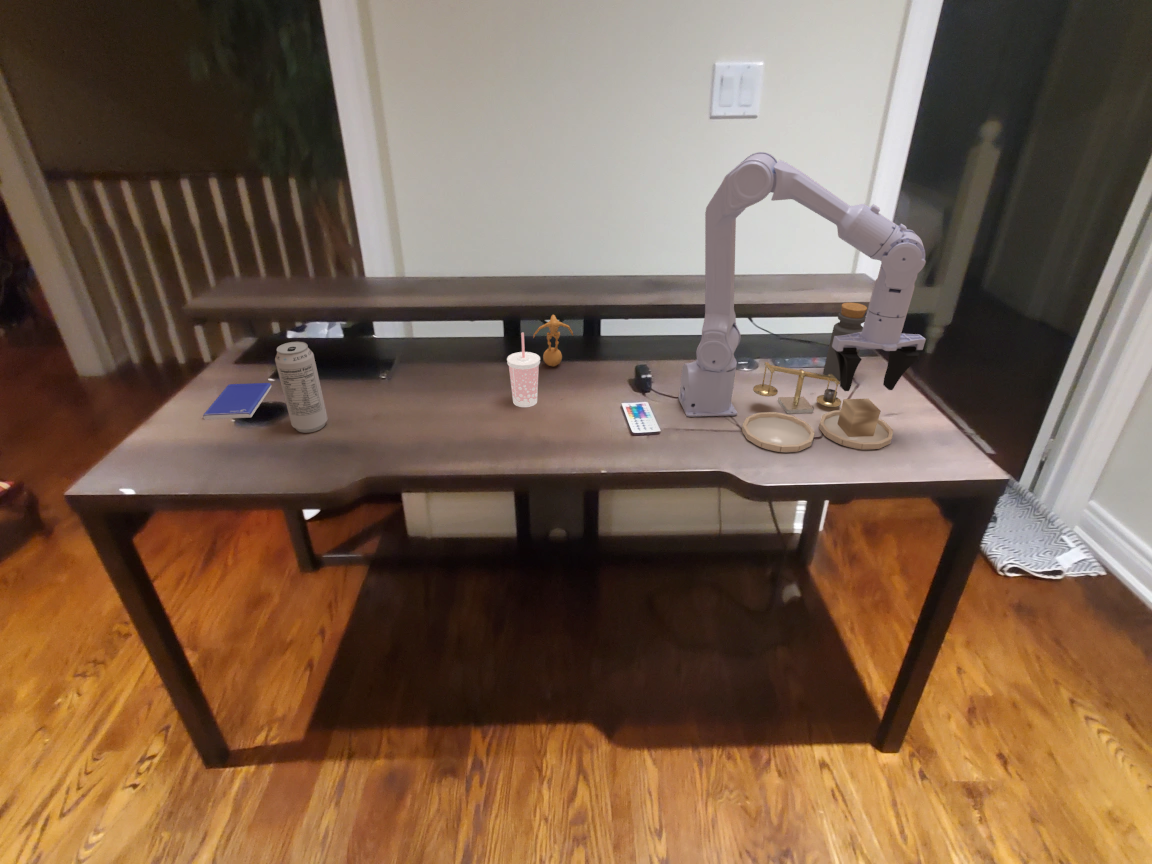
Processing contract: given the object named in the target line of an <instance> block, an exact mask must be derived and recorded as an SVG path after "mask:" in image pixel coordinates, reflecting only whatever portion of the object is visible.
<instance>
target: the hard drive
mask: <svg viewBox="0 0 1152 864" xmlns="http://www.w3.org/2000/svg"><path fill="white" fill-rule="evenodd" d="M271 388H272V384H271V383H270V382H257V383H256V382H255V383H233V384H232V383H231V384H227V385H226V386H225V388H224V389H223V390H222V392H221V393H220V394H219V395H218V397H216V399H215V400H214V401H213V403H212V404H211V405H210V406H208V409H207V410H206V411H205V412H204V413H203V415H202V417H203V420H219V419H220V420H223V419H224V420H225V419H246V418H252V417H253V415H254V414H255V412H256V411H257V409H258V408H259V407H260V405H261V404H262V402H263V400H264V399H265V398H266V396H267V394H268V393H269V392H270V390H271Z"/></svg>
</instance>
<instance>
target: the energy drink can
mask: <svg viewBox="0 0 1152 864" xmlns="http://www.w3.org/2000/svg"><path fill="white" fill-rule="evenodd" d="M315 360H316V359H315V354H314V352H313V351H312V350H311V349H310V348H309V347H308V344H307V343H306V342H305V341H291V342H286V343H283V344H281V345H279V346H277V347H276V355H275V358H274V362H275V365H276V369H277V374H278V378H279V381H280V384H281V390H282V392H283V396H284V400H285V404H286V409H287V412H288V417H289V420H290V424H291V427H292V428H294V429H295V430H296V431H297V432H299V433H305V434H306V433H307V434H308V433H309V434H310V433H313V432H317V431H320V430H321V429H323V428H324V427H325V426H326V423H327V421H328V414H327V410H326V404H325V401H324V395H323V392H322V391H323V390H322V387H321V382H320V377H319V372H318V369H317V364H316V363H317V362H316V361H315Z"/></svg>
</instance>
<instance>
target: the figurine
mask: <svg viewBox="0 0 1152 864" xmlns="http://www.w3.org/2000/svg"><path fill="white" fill-rule="evenodd" d="M549 319H550V320H548V322H546V323H544V324H543V325H540V326H539V327H538V328H537V329H536V330H535V332H534V333H533V336H532V338H533V339H534V338H535V337H536V335H537V334H538V333H539V331H540V330H542V329H545V328H548V330H549V332H547V333H546V340H547V345H548V347H547V349H546V350H545V351H544V352H543V355H542V358H543V362H544V363H545V365H547V366H548V367H557V366H558V365H560V363H561V362H562V359H563V354H562V352H561V350H560V349H558V345H559V343H560V342H559V341H558V340H559V339H560V336H561V332H560V331H559V328H560V327H563V328H567V330H568V331H569V332H570V334H571V336H572V337H573V336H574V333H573V330H572V329H571V327H570V325H568V324H566V323H564V322H561V321H559V320H558V319H557V317H556V315H555V314H552V315H551V316H550V318H549ZM552 337H553V338H554V339H555V342H554V343H555V347H552V346H551V345H552V342H551V341H550V340H552Z"/></svg>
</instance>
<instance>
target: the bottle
mask: <svg viewBox="0 0 1152 864" xmlns="http://www.w3.org/2000/svg"><path fill="white" fill-rule="evenodd" d="M867 310H868V306H866V305H865V304H862V303H857V302H843V303H842V304H841V311H840V312H838V314H837V319H838V322H836V323H835V324H834V325H833V328H832V333H831V335H830V339H829V340H830V341H829V346H828V349H827V354H826V359H825V362H824V363H825V364H824V368H823V375H829V374H832V375H833V376H834V377H835V378H836V379H837V380H838V381H839V382H840V369H839V363H838V359H837V355H836V352H835V349H834V348H833V347H832V344H833V340H834V336H842V335H848V334H853V333H858V332H862V330H863V326H862V324H864V322H865V318H866V315H865V314H866V313H867ZM860 350H861V349H857V350H856V352H858V354H857V355H858V356H860V355H859V354H860Z"/></svg>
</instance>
